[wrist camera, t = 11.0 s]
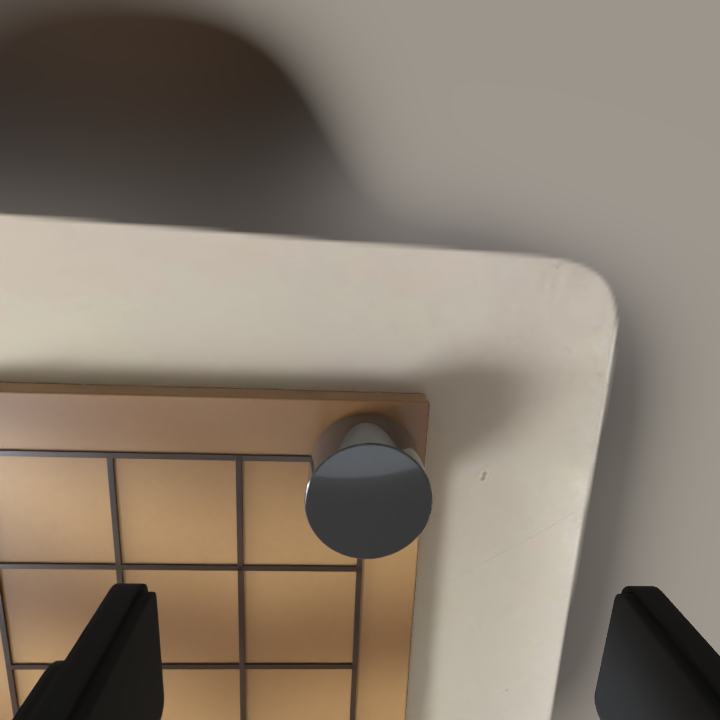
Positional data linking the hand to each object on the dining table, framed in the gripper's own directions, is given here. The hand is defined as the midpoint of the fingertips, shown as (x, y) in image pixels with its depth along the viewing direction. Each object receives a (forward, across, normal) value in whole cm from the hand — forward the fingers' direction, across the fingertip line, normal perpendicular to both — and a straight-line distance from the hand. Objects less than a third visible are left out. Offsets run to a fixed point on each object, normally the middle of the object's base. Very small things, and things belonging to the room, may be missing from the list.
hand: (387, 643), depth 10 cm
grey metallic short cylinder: (+10, 0, +1) cm, 10 cm away
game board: (+11, +7, +8) cm, 16 cm away
